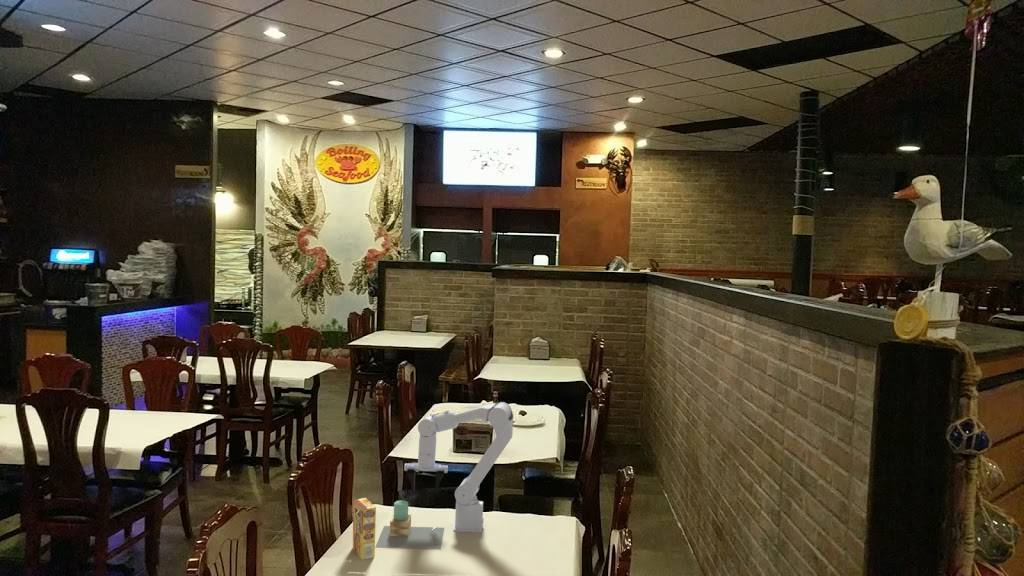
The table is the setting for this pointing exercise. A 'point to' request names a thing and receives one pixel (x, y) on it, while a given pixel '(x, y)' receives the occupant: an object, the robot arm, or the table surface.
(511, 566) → the table surface
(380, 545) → the slate mat
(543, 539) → the table surface
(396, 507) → the green rounded knob
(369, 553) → the candy box
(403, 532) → the birch slab low
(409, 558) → the table surface
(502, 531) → the table surface
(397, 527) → the oak slab top
